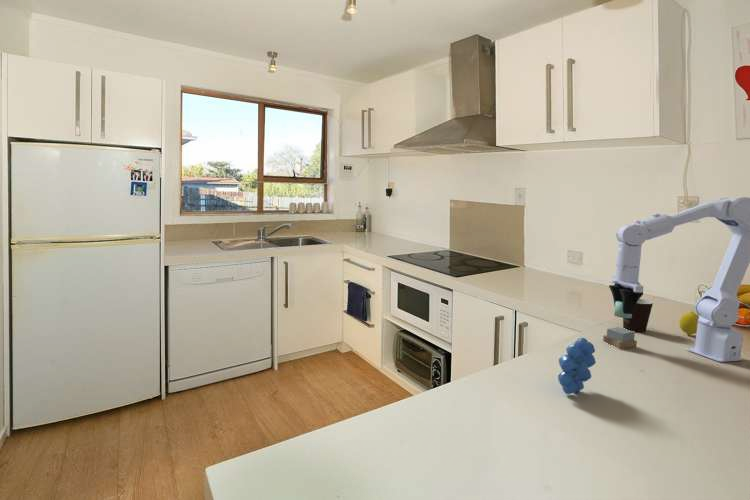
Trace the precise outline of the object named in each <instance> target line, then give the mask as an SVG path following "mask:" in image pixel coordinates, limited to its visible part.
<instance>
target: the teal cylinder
mask: <svg viewBox="0 0 750 500" xmlns="http://www.w3.org/2000/svg"><path fill="white" fill-rule="evenodd" d="M613 316H615V317H618V318H621V319H623V318H632V314H624V313H623V301H616V302H615V305H614V315H613Z"/></svg>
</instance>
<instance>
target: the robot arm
mask: <svg viewBox="0 0 750 500" xmlns="http://www.w3.org/2000/svg"><path fill="white" fill-rule="evenodd" d="M704 218H714V219H716V220H717V221H720V222H721V223H722V224H724V225H725V226H726V227H727V228H728V229H729V231H730V232H731V233H732V237H731V240H730V242H729V244H728V246H727V249H726V251H725V254H724V257H723V258H722V261H721V264H720V266H719V270H718V271H717V274H716V276H715V278H714V281H713V283H712V286H711V287H710V288H709V289H707V290H705V291H704V293H703V294H702V297H701V298H700V299H698V300H697V301H696V303H695V304H694V305H695V306H694V309H695V314H697V315H698V316H699V319H698V325H697V333H695V334H696V335H695V343H694V347H688V348H687V347H686V349H685V350H686V351H689V352H692V353H694V354H697V355H699V356H700V355H701V356H703V357H705V358H708V359H711V360H713V361H717V362H719V363H726V362H727V363H729V362H736V361H743V358H741V357H742V350H743V349H742V348H743V341H744V339H743V334H742V333H741V331H739V330H737V329H735V328H734V327H732V326H733V325H735V324H736V323H737V321H738V320H739V317H740V315H739V314H740V313H739V307H740V305H741V303H740V300H739V298H738V295H737V294H738V291H739V289H740V287H741V284H742V282H743V280H744V277H745V275H746V272H747V269H748V268H749V266H750V197H745V196H742V197H722V198H719V199H715V200H710V201H706V202H703V203H701V204H698V205H695V206H693V207H690V208H686V209H685V210H682V211H678V212H677V213H676V212H675V213H674V214H671V215H667V214H665V213H661V214H660V213H653V214H652V217H648V218H645V219H643V220H638V219H637V220H635V221H634V224H624V225H623V226H620V228H619V229H618V231H617V233H616V235H615V236H616V239H617V241H618V249H617V256H616V257H617V258H616V267H615V276H614V275H612V276H611V277H610V283H612V284H609V285H608V287H609V290H610V292H611V295H612V298H613V304H614V306H615V302H616V301H623V313H624V314H632V313H633V310H634V308H635V306H636V303H637V302H638V300H639V299H641V298H642V297H643V295H644V285H642V284H641V283H640V282H639V278H640V277H639V276H640V266H641V258H642V257H641V256H642V255H641V254H642V246H643V244H644V243H645V242H646V241H648V240H652V239H655V238H658V237H661V236H664V235H667V234H670V233H672V232H673V230H674V229H675V227H677V226H681V225H685V224H688V223H691V222H694V221H698V220H701V219H704Z"/></svg>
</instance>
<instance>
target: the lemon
mask: <svg viewBox="0 0 750 500" xmlns="http://www.w3.org/2000/svg"><path fill="white" fill-rule="evenodd" d="M698 319H699V315H698V314H697V313H696V312H695V313H694V311H691V310H690V311H687V312H684V313H683V314H682V315H681V316H680V319H679V322H678V323H679V324H678V325H679V328H680V330H681V331H682V332H683V333H685V334H686V335H687V336H691V335H694V334H697V325H698Z"/></svg>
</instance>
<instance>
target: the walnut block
mask: <svg viewBox="0 0 750 500" xmlns="http://www.w3.org/2000/svg"><path fill="white" fill-rule="evenodd" d="M603 341H604V342H606V343H608V344H607V345H609V344H610V345H609V346H611V345H613V346H615V347H617V348H616V349H618V348H628V349H635V348H634V347H636V348H637V344H638V342H637V340H636V339H634V340H633V341H627V342H620V341H617V340H614V339H611V338H608V337H607V334H606V335H603V338H602V342H603ZM604 342H603V343H604ZM606 343H605V344H606ZM613 346H612V347H613ZM615 347H614V348H615Z"/></svg>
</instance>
